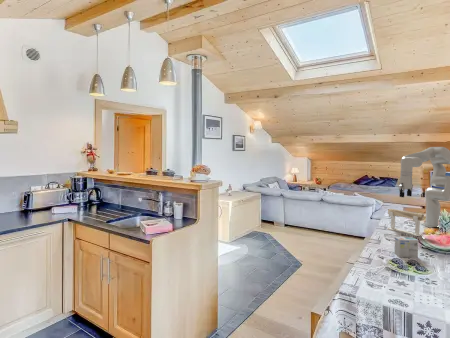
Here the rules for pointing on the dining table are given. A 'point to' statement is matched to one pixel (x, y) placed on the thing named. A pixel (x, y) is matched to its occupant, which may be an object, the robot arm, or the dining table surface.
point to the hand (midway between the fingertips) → (405, 196)
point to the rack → (417, 229)
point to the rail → (406, 214)
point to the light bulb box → (406, 247)
